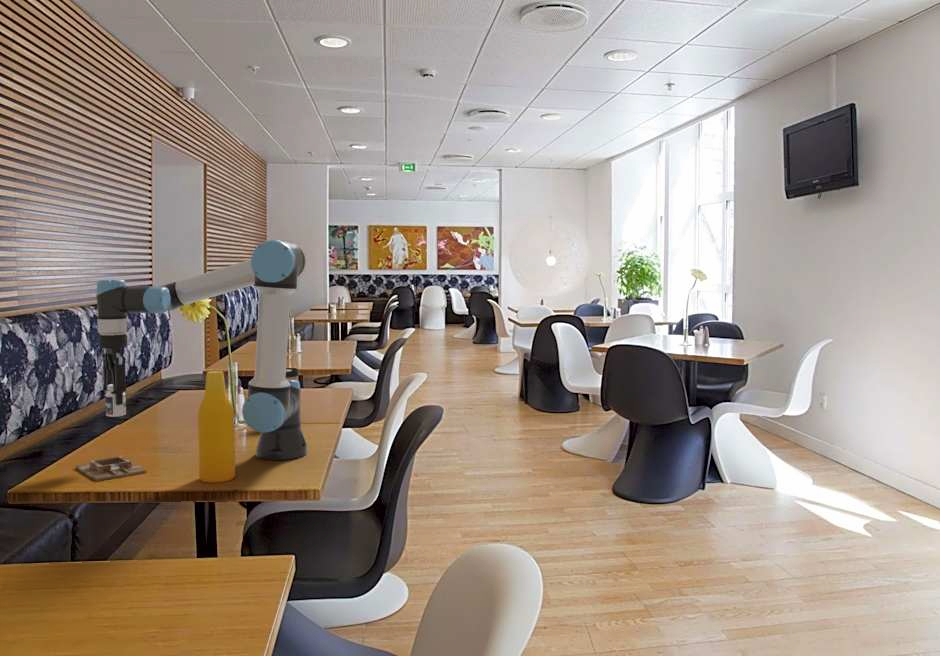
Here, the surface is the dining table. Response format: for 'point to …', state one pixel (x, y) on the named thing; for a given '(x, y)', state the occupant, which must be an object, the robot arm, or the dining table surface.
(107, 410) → the pill bottle
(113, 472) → the organizer
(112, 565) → the dining table surface
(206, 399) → the beer bottle
